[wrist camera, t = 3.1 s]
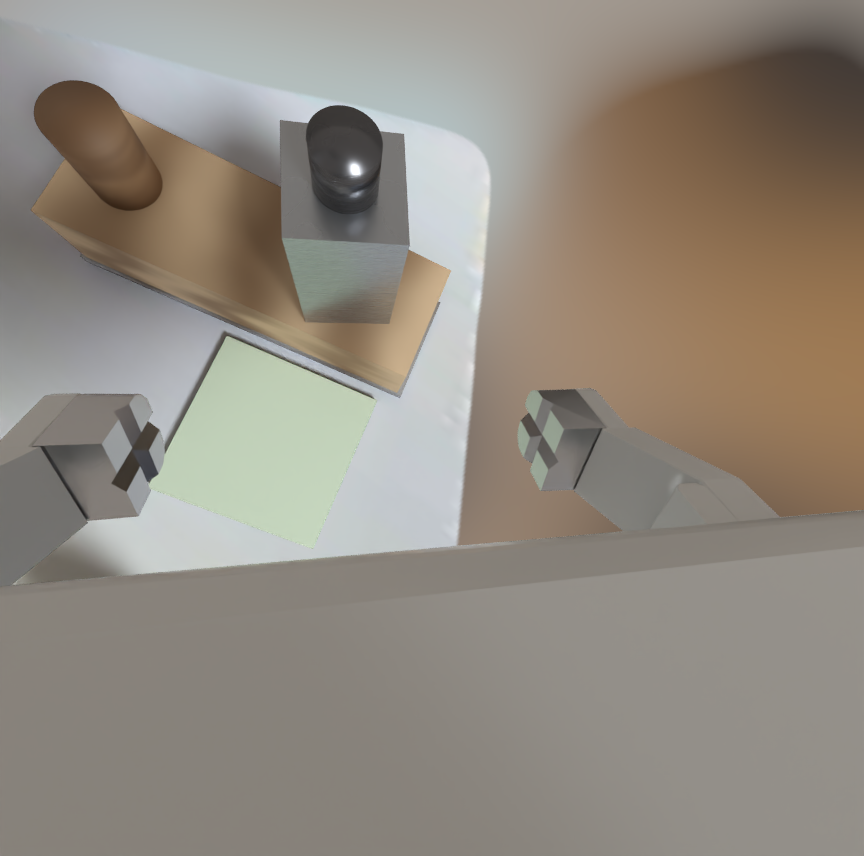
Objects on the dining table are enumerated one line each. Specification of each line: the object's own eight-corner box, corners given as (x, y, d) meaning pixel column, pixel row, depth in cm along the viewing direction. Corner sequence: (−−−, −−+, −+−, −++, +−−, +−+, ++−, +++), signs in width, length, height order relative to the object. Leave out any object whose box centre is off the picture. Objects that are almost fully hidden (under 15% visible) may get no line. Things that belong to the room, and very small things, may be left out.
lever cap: (305, 322, 22) (270, 200, 12) (303, 243, 23) (269, 66, 13) (389, 323, 23) (418, 211, 13) (385, 247, 24) (411, 85, 14)
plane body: (86, 261, 25) (-56, 144, 16) (145, 166, 26) (43, 11, 18) (399, 397, 28) (422, 360, 19) (438, 306, 29) (476, 232, 20)
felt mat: (152, 487, 24) (147, 487, 24) (229, 338, 26) (226, 335, 26) (313, 547, 26) (312, 549, 25) (376, 402, 27) (377, 400, 27)
